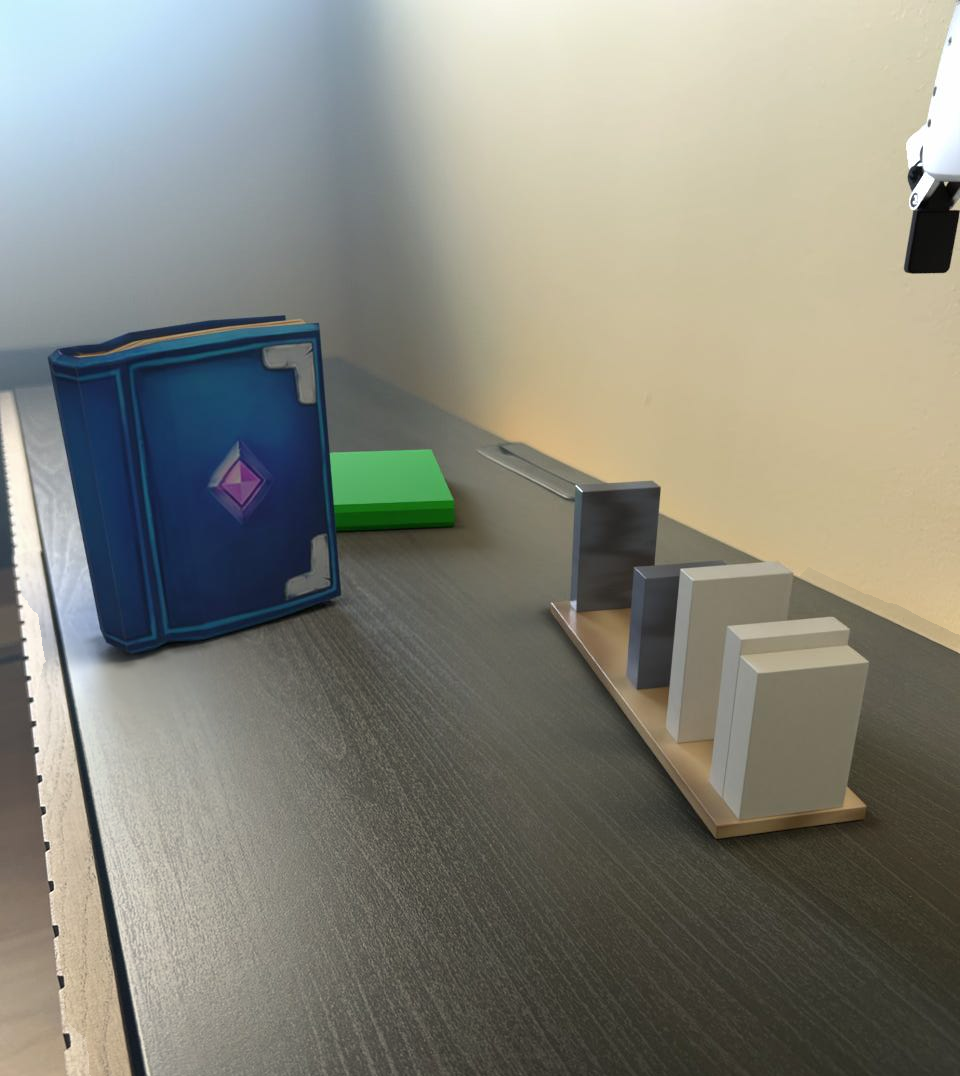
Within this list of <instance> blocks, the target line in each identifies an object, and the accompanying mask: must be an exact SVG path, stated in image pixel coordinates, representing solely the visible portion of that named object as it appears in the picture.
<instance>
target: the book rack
mask: <svg viewBox="0 0 960 1076" xmlns="http://www.w3.org/2000/svg"><path fill="white" fill-rule="evenodd" d="M661 490H662V487H661V486H660V484H659V483H656V482H655V481H654V480H637V481H622V482H620V481H619V482H607V483H603V482H602V483H589V484H587V483H586V484H576V485H575V489H574V512H573V530H572V531H573V533H572V552H571V553H572V554H571V577H570V593H569V594H570V597H569V600H563V601H552V602H550V613H551V615H552V616H553V617H554V618H555V620H556V622H557V624H559V625H560V627H561V628H562V630H563V631H564V632H565V634H566V635H567V636H568V638H569V639H570V641H571V642H572V643H573V644H574V646H575V648H576V649H577V650H578V652H579V653H580V654H581V656H582V658H584V660H585V661H586V663H587V664H588V665H589V667H590V669H591V670H592V671H593V672H594V674H595V675H596V676H597V678H598V679H599V681H600V682H601V683H602V685H603V686H604V687H605V689H606V690H607V692H608V693H609V694H610V696H611V697H612V698H613V700H614V701H615V703H616V704H617V705H618V707H619V708H620V709H621V711H622V712H623V713H624V715H625V716H626V718H627V719H628V720H629V722H630V723H631V724H632V726H633V728H634V729H635V730H636V731H637V733H638V734H639V735H640V737H641V738H642V740H643V741H644V742H645V744H646V745H647V746H648V748H649V750H651V752H652V753H653V754H654V756H655V758H656V759H657V760H658V761H659V763H660V764H661V766H662V767H663V768H664V770H665V772H667V774H668V775H669V777H670V778H671V780H672V781H673V782H674V783H675V785H676V786H677V788H678V789H679V790H680V792H681V793H682V794H683V796H684V798H685V799H686V800H687V802H688V803H689V804H690V806H691V807H692V808H693V810H694V811H695V813H696V814H697V815H698V817H699V818H700V819H701V820H702V822H703V824H704V825H705V826H706V828H707V830H709V832H710V833H711V835H712V836H713V837H714V838H715V840H720V839H726V838H727V839H728V838H734V837H735V838H736V837H741V836H749V835H755V834H756V835H757V834H764V833H772V832H777V831H779V832H780V831H786V830H795V829H801V828H810V827H816V826H822V825H823V826H824V825H829V824H830V825H831V824H837V823H838V824H839V823H846V822H852V821H860V820H865V818H866V812H867V805H866V804H865V802H863V801H862V800H861V799H860V797H858V795H856V793H854V792H853V791H852V790H851V788H850V787H849V786H847V789H846V794H845V800H844V806H843V807H837V808H829V809H822V810H814V811H806V812H799V813H791V814H784V815H776V816H768V817H761V818H753V819H746V820H739V819H738V818H737V817H736V815H735V814H734V813H733V812H732V810H731V809H730V808H729V807H728V805H727V804H726V803H725V801H724V800H723V799H722V798H721V797H720V795H719V794H718V793H717V791H716V790H715V789H714V788H713V786H712V785H711V784H710V782H709V781H710V772H711V764H712V755H713V746H714V739H712V740H704V741H695V742H686V743H677V742H676V741H675V739H674V738H673V737H672V736H671V734H670V733H669V732H668V730H667V729H666V721H667V710H668V699H669V688H670V677H671V667H672V656H673V645H674V634H675V623H676V612H677V602H678V591H679V580H680V570H681V569H684V568H697V567H709V566H722V565H728V563H726V562H725V561H724V560H710V561H695V562H681V563H671V564H670V563H669V564H657V565H655V564H656V555H657V554H656V552H657V539H658V527H659V518H660V517H659V515H660V504H661V492H662V491H661Z"/></svg>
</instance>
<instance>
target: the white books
mask: <svg viewBox="0 0 960 1076" xmlns="http://www.w3.org/2000/svg"><path fill="white" fill-rule="evenodd" d="M850 632H851V629H850V627H847V626H846V625H845V624H844V623H843V622H841V621H840V620H838V619H837V618H836V617H834V616H823V617H811V618H802V619H801V618H800V619H791V620H790V619H789V620H787V621H778V622H767V623H756V624H745V625H734V626H727V633H726V642H725V651H724V659H723V668H722V677H721V685H720V694H719V703H718V711H717V720H716V729H715V738H714V746H713V755H712V764H711V772H710V781H709V782H710V784H711V785H712V786H713V788H714V789H715V790H716V791H717V793H718V794H719V795H720V797H721V798H722V799H723V800H724V801H725V803H726V804H727V805H728V807H729V808H730V809H731V810H732V812H733V813H734V814H735V815H736V817H737V818H738V819H739V820H746V819H753V818H761V817H768V816H776V815H784V814H791V813H799V812H806V811H814V810H822V809H829V808H837V807H843V806H844V800H845V794H846V789H847V787H848V784H849V783H848V782H849V776H850V771H851V765H852V762H853V761H852V760H853V755H854V751H855V750H854V749H855V743H856V738H857V732H858V728H859V721H860V715H861V710H862V704H863V699H864V693H865V687H866V683H867V677H868V672H869V666H870V661H869V660H867V658H865V657H864V656H862V655H861V654H860V653H858V652H857V651H856V650H855V649H853V648H852V647H851V646H850V645H848V644H849V639H850Z"/></svg>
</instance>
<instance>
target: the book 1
mask: <svg viewBox="0 0 960 1076" xmlns="http://www.w3.org/2000/svg"><path fill="white" fill-rule="evenodd" d="M320 328H321V327H320V322H310V323H309V322H308V323H307V322H306V321H304V320H303V319H302V318H297V319H288V320H287V317H286V314H282V315H267V316H253V317H252V316H251V317H237V318H222V319H209V320H202V321H201V320H200V321H195V322H188V323H183V324H177V325H176V324H175V325H169V326H162V327H157V328H150V329H143V330H137V331H131V332H127V333H124V334H122V335H118V336H116V337H114V338H112V339H109V340H105V341H104V342H101V343H94V344H81V345H74V346H73V345H72V346H67V347H61V348H57V349H55V350H54V351H53V352H52V353H50V355H48V356H47V363H48V367H49V372H50V377H51V382H52V383H51V384H52V388H53V392H54V397H55V403H56V408H57V414H58V419H59V424H60V429H61V434H62V439H63V445H64V449H65V454H66V455H65V456H66V461H67V466H68V470H69V476H70V480H71V486H72V491H73V497H74V501H75V507H76V511H77V517H78V523H79V527H80V532H81V537H82V543H83V548H84V553H85V556H86V557H85V559H86V563H87V569H88V574H89V578H90V579H89V580H90V584H91V588H92V589H91V590H92V594H93V599H94V604H95V609H96V615H97V620H98V626H99V629H100V632H101V634H102V637H103V639H104V642H105V643H106V644H108V645H111V646H112V647H114V648H116V649H120V650H122V651H124V652H126V653H129V654H132V655H136V654H140V653H144V652H147V651H148V652H149V651H151V650H155V649H158V648H159V647H161V646H164V645H165V644H167V643H172V642H173V643H174V642H175V643H177V642H194V641H195V642H196V641H197V642H198V641H204V640H205V641H206V640H208V639H212V638H216V637H219V636H222V635H225V634H229V633H233V632H236V631H239V630H243V629H247V628H250V627H254V626H259V625H262V624H265V623H268V622H271V621H275V620H278V619H281V618H283V617H286V616H289V615H291V614H294V613H297V612H299V611H300V612H301V611H303V610H306V609H309V608H311V607H313V606H317V605H319V604H322V603H325V602H327V601H330V600H333V599H335V598H338V597H341V596H342V587H341V576H340V574H341V573H340V563H339V562H340V561H339V549H338V539H337V531H336V524H335V511H334V499H333V487H332V474H331V462H330V453H331V452H330V450H331V449H330V439H329V427H328V426H329V425H328V415H327V412H328V411H327V401H326V389H325V378H324V377H325V376H324V363H323V352H322V351H323V350H322V339H321V329H320Z"/></svg>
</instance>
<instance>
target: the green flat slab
mask: <svg viewBox="0 0 960 1076" xmlns="http://www.w3.org/2000/svg"><path fill="white" fill-rule="evenodd" d="M330 462H331V474H332V487H333V499H334V511H335V524H336V532H350V531H352V532H355V531H375V530H378V531H379V530H396V529H399V530H401V529H424V528H445V527H446V528H447V527H455V522H456V521H455V518H456V517H455V516H456V515H455V500H454V496H453V495H452V493H451V490H450V488H449V486H448V484H447V482H446V479H445V477H444V475H443V472H442V470H441V467H440V466H439V463H438V462H437V459H436V457H435V455H434V452H433V449H431V448H430V449H400V450H397V449H396V450H375V451H374V450H372V451H371V450H370V451H368V450H367V451H341V452H340V451H339V452H330Z"/></svg>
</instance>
